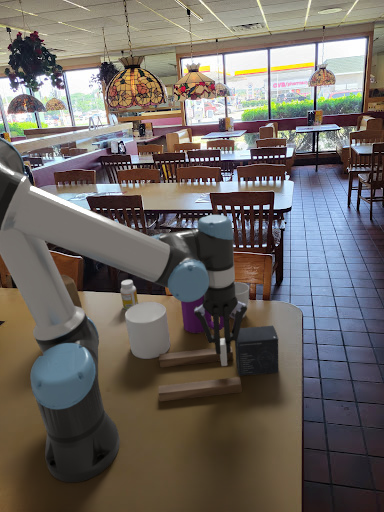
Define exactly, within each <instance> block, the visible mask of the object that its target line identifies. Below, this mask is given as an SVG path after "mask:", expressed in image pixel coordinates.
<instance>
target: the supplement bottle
mask: <svg viewBox="0 0 384 512" xmlns="http://www.w3.org/2000/svg"><path fill="white" fill-rule="evenodd" d="M120 284H121V285H120V286H121V288H120V296H121V301H122V307H123V309H124V310H126V311H127V310H128V309H129V308H130V307H132V306H134V305H136V304H139V299H138V294H137V288H136V286H135V285H134V281H133V280H132V279H125V280H122V281H121V283H120Z"/></svg>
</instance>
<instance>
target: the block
mask: <svg viewBox="0 0 384 512" xmlns="http://www.w3.org/2000/svg"><path fill="white" fill-rule="evenodd" d="M60 276H61V278H62V280H63V282H64V285H65V287H66V289H67V291H68V293H69V296H70V298H71V300H72V302H73V304H74V306H76V307H80V308H82V309H83V305H82V302H81V298H80V296H79V291H78V289H77V288H78V287H77V285H76V283H75V281H74V278H71V277H70V276H68V275H66V274H60Z"/></svg>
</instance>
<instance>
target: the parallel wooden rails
mask: <svg viewBox="0 0 384 512" xmlns="http://www.w3.org/2000/svg"><path fill="white" fill-rule="evenodd" d="M230 347H231V352H230V353H227V361H230V360H234V352H233V348H232V346H231V345H230ZM158 359H159V361H158V362H159V365H160V367H159V368H168V367H176V366H186V365H187V366H188V365H194V364H195V365H196V364H202V363H204V364H205V363H212V362H214V363H215V362H221V360H220V354H216V350H215V347H212V348H206V349H205V348H204V349H195V350H186V351H185V350H184V351H178V352H177V351H176V352H169V353H168V352H166V353H164V354H159V357H158ZM239 393H242V383H241V378H240V376H236V377H230V378H229V377H228V378H220V379H219V378H217V379H210V380H209V379H208V380H201V381H200V380H199V381H191V382H185V383H184V382H183V383H174V384H163V385H159V386H158V399H159V402H166V401H174V400H175V401H176V400H184V399H191V398H192V399H193V398H199V397H200V398H202V397H212V396H218V395H220V396H221V395H229V394H239Z"/></svg>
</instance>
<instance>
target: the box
mask: <svg viewBox="0 0 384 512" xmlns="http://www.w3.org/2000/svg"><path fill="white" fill-rule="evenodd" d="M278 336H279V335H278V333H277V330H276V328H275V327H274V325H262V326H253V327H252V326H250V327H240V331H239V335H238V339H237V340H236V341H234V351H235V364H236V372H237V375H238V377H241V376H250V375H252V376H253V375H264V374H275V373H279V372H280V370H279V337H278Z"/></svg>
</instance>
